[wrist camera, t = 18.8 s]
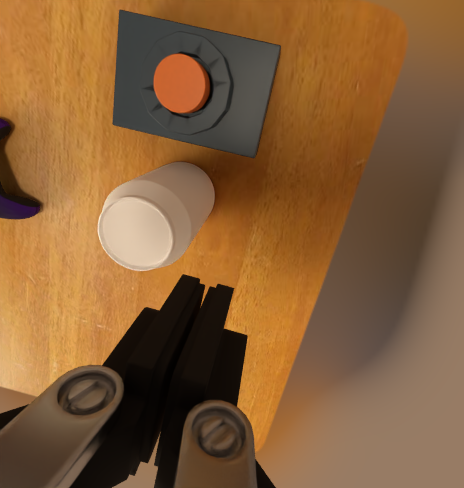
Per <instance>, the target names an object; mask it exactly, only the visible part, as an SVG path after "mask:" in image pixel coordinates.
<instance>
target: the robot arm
mask: <svg viewBox="0 0 464 488" xmlns="http://www.w3.org/2000/svg"><path fill="white" fill-rule="evenodd" d="M204 289H205V285H204V284H200V279H199V278H195V277H192V276H188V275H184V274H183V275H182V276H181V278H180V279H179V281H178V283H177V284H176V286H175V287H174V289H173V290H172V292H171V293H170V295H169V297H168V298H167V300H166V301H165V303H164V304H163V306H162V308H161V309H160V311H159V310H155V309H152V308H148V307H146V308H144V309H143V310H142V312H141V313H140V314H139V316H138V317H137V318H136V320H135V321H134V323H133V324H132V325H131V327H130V328H129V329H128V331H127V332H126V334H125V335H124V336H123V338H122V339H121V340H120V342H119V343H118V344H117V346H116V347H115V349H114V350H113V351H112V353H111V354H110V355H109V357H108V358H107V360H106V361H105V362H104V364H103V365H102V366H101V365H87V366H81V367H78V368H75V369H73V370H70V371H68V372H67V373H65V374H64V375H62V376H61V377H59V378H58V379H57V380H56V381H55V382H54V383H53V384H52V385H50V386H49V387H48V388H47V389H46V390H45V391H44V392H43V393H42V394H40V395H39V396H38V397H37V398H36V399H35V400H34V401H33V402H32V403H31V404H28V405H26V406H22V407H19V408H16V409H13V410H10V411H7V412H4V413H1V414H0V488H112V487H114V486H116V485H117V484H119V483H121V482H123V481H125V480H127V478H128V476H129V474H130V475H133V476H135V474H136V471H137V469H138V466H139V464H140V462H145V463H148V462H149V460H150V457H151V455H152V452H153V450H154V447H155V444H156V442H157V439H158V437H159V434H160V438H159V443H158V448H157V453H156V458H155V463H154V465H155V466H158V471H157V476H156V480H155V485H154V488H276V487H275V486H274V485H273V483H272V482H271V481H270V479H269V478H268V476H267V475H266V473H265V472H264V470H263V469H262V468H261V466H260V465H259V464H258V462H257V461H256V459H255V449H254V435H253V431H252V426H251V424H250V422H249V420H248V418H247V416H246V415H245V414H244V413H243V412H242V411H241V410H240V409H239V408H238V407H237V402H238V396H239V389H240V383H241V376H242V370H243V363H244V357H245V350H246V344H247V337H248V336H247V335H245V334H241V333H238V332H234V331H231V330H227V329H224V325H225V321H226V317H227V314H228V310H229V306H230V302H231V298H232V294H233V291H234V288H232V287H228V286H225V285H221V284H217V286H216V288H215V287H211V286H210V287H209V289H208V292H207V294H206V296H205V299H204V301H203V303H202V306H201V302H202V298H203V293H204ZM200 307H201V308H200ZM160 432H161V433H160Z"/></svg>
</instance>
